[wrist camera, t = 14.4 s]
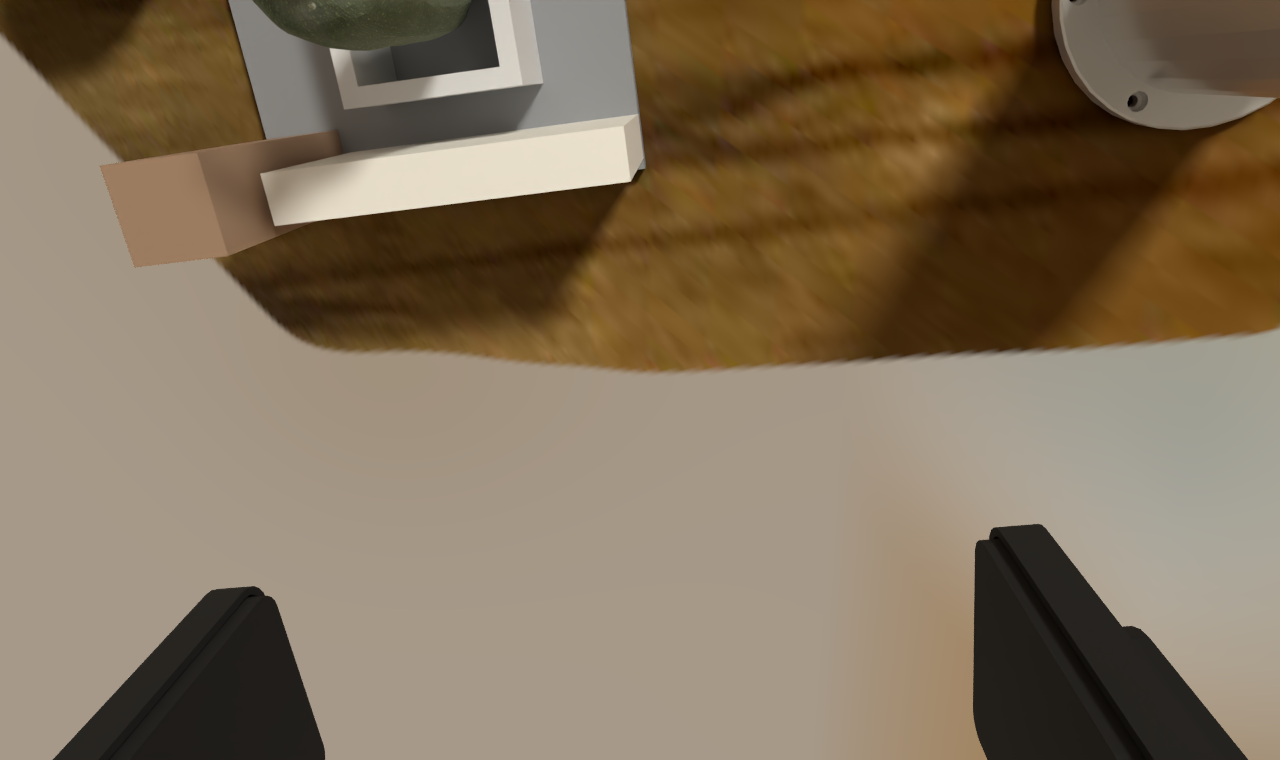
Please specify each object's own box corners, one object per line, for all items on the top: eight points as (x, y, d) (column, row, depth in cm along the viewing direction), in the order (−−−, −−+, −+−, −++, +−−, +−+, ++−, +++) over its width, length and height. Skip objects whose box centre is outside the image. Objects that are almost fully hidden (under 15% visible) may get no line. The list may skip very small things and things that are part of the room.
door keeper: (611, -113, 36) (571, -207, 24) (645, 166, 40) (626, 207, 28) (225, -51, 38) (5, -109, 26) (295, 210, 42) (134, 267, 30)
